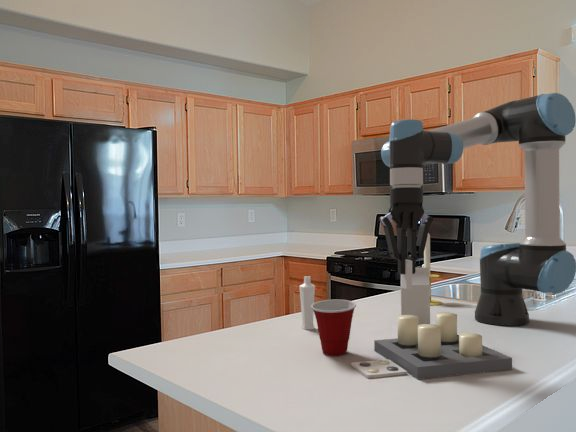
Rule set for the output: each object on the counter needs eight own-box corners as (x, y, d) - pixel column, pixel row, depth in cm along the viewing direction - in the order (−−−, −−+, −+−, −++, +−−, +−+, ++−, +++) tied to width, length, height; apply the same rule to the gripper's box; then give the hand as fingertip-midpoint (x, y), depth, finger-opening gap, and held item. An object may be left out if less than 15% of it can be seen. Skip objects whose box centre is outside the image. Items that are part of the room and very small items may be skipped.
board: (455, 343, 132) (455, 333, 132) (512, 369, 111) (512, 357, 111) (374, 350, 127) (374, 340, 127) (417, 379, 106) (417, 367, 106)
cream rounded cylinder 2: (474, 358, 118) (473, 332, 118) (486, 364, 114) (486, 337, 114) (455, 360, 117) (454, 333, 117) (467, 366, 113) (466, 339, 112)
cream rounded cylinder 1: (450, 336, 128) (450, 311, 128) (461, 341, 123) (460, 315, 123) (432, 337, 127) (432, 313, 127) (442, 342, 122) (442, 317, 122)
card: (389, 361, 118) (389, 358, 118) (407, 374, 109) (407, 370, 109) (351, 365, 116) (351, 361, 116) (366, 378, 107) (366, 374, 107)
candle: (447, 302, 187) (446, 227, 186) (433, 306, 180) (432, 228, 179) (422, 299, 194) (421, 226, 193) (407, 303, 186) (407, 228, 186)
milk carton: (430, 344, 132) (429, 269, 132) (401, 343, 134) (400, 269, 133) (428, 337, 139) (427, 265, 139) (401, 336, 141) (400, 265, 140)
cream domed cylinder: (433, 350, 116) (433, 323, 116) (445, 356, 111) (445, 328, 111) (414, 352, 115) (413, 324, 115) (424, 358, 110) (424, 329, 110)
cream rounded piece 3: (412, 339, 126) (412, 314, 126) (422, 344, 121) (422, 318, 121) (394, 340, 125) (394, 315, 124) (403, 346, 120) (403, 319, 120)
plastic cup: (303, 355, 124) (302, 305, 124) (325, 344, 133) (324, 297, 133) (343, 362, 118) (343, 309, 118) (364, 350, 127) (363, 301, 127)
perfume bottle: (308, 331, 148) (307, 278, 148) (297, 328, 152) (296, 276, 151) (319, 328, 151) (318, 276, 151) (309, 325, 155) (308, 275, 154)
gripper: (423, 187, 127) (424, 284, 128) (373, 187, 124) (374, 286, 124) (439, 186, 120) (440, 289, 120) (387, 186, 117) (387, 291, 117)
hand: (406, 287), depth 122 cm, fingers closed
